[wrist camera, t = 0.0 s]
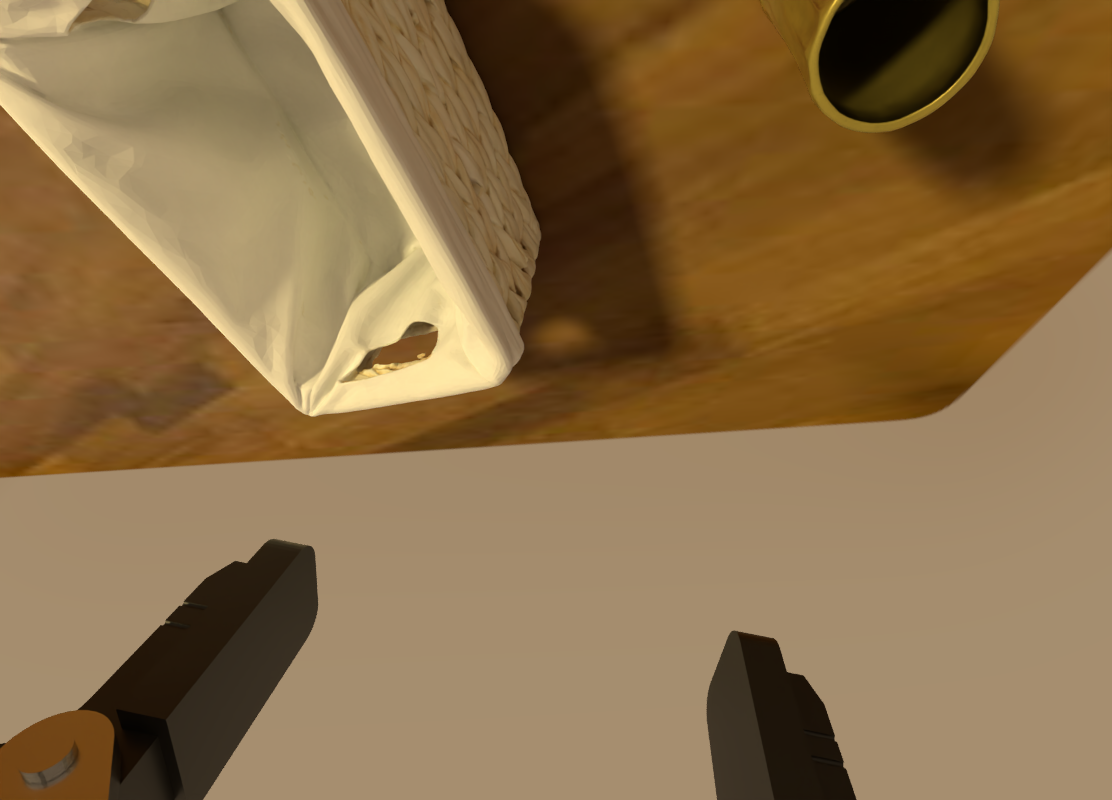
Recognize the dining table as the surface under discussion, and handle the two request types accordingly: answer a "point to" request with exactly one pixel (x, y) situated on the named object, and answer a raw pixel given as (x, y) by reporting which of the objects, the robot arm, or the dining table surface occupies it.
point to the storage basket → (294, 178)
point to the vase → (884, 54)
